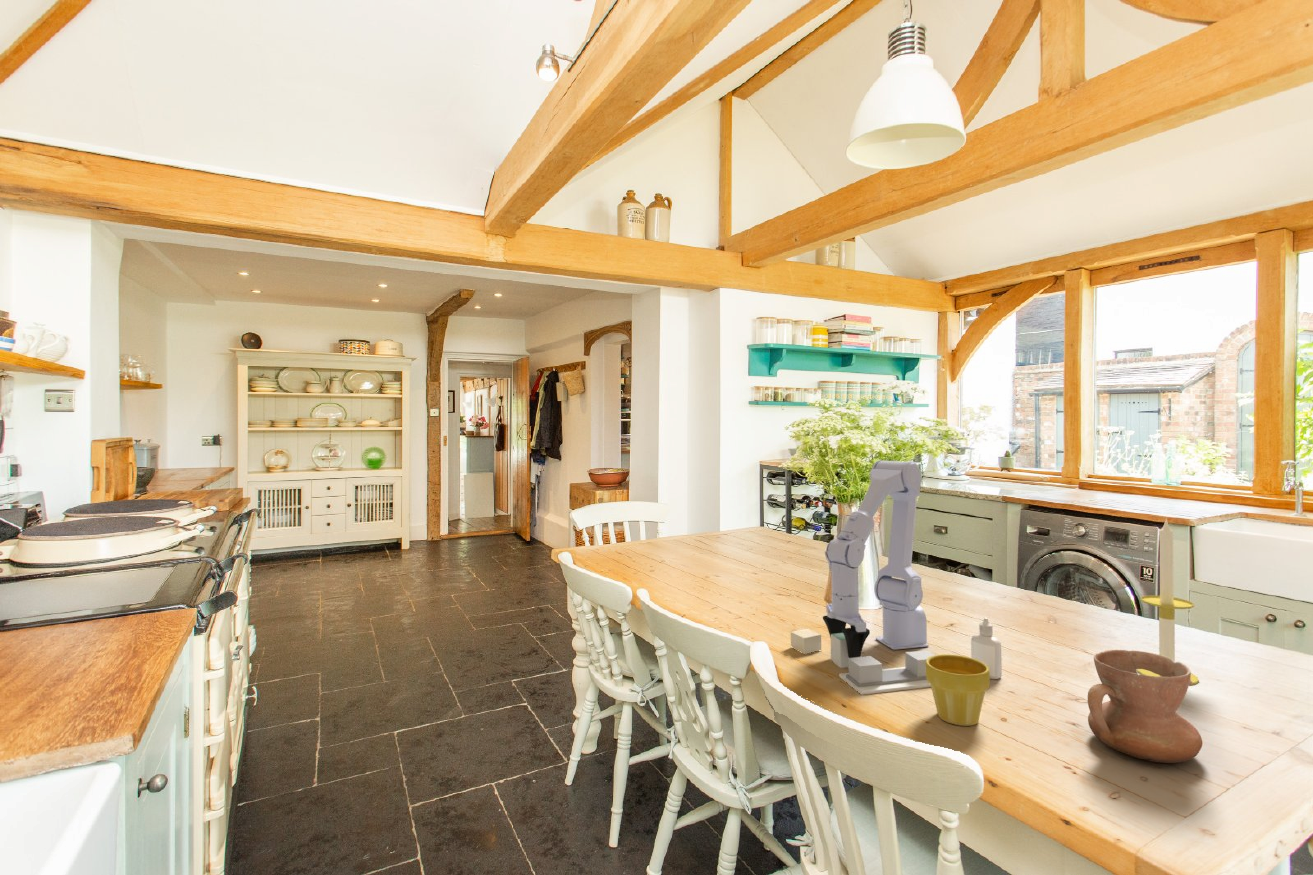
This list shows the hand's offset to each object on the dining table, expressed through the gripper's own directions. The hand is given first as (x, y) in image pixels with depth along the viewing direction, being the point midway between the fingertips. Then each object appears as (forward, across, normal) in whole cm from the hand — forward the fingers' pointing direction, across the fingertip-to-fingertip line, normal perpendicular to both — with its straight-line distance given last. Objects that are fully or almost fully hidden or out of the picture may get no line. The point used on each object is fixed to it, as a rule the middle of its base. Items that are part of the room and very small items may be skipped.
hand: (845, 653), depth 138 cm
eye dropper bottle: (+2, +13, +25) cm, 28 cm away
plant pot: (+2, +28, +7) cm, 29 cm away
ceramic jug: (+2, +44, +28) cm, 52 cm away
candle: (+2, +22, +60) cm, 64 cm away
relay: (+2, -10, -5) cm, 11 cm away
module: (+2, 0, 0) cm, 2 cm away
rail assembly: (+2, +11, +5) cm, 12 cm away
